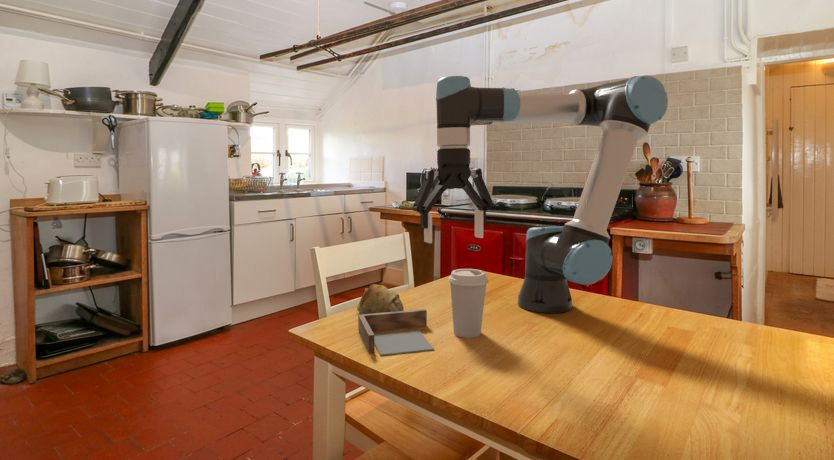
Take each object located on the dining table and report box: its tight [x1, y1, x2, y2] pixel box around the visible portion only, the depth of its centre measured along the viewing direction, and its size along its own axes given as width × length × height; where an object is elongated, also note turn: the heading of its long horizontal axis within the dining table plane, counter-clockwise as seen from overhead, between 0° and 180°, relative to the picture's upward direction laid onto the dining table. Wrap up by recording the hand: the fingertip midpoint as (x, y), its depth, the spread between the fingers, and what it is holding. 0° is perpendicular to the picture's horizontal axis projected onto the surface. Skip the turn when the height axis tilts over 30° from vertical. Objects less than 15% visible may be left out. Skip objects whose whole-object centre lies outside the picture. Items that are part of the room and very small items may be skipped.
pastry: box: [356, 283, 405, 315], centre depth 130 cm, size 14×12×8 cm
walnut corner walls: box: [357, 308, 428, 354], centre depth 111 cm, size 17×15×4 cm
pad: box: [374, 329, 435, 357], centre depth 108 cm, size 12×12×1 cm
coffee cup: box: [447, 268, 489, 339], centre depth 114 cm, size 10×10×15 cm
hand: (454, 239), depth 111 cm, fingers open, 13 cm apart
